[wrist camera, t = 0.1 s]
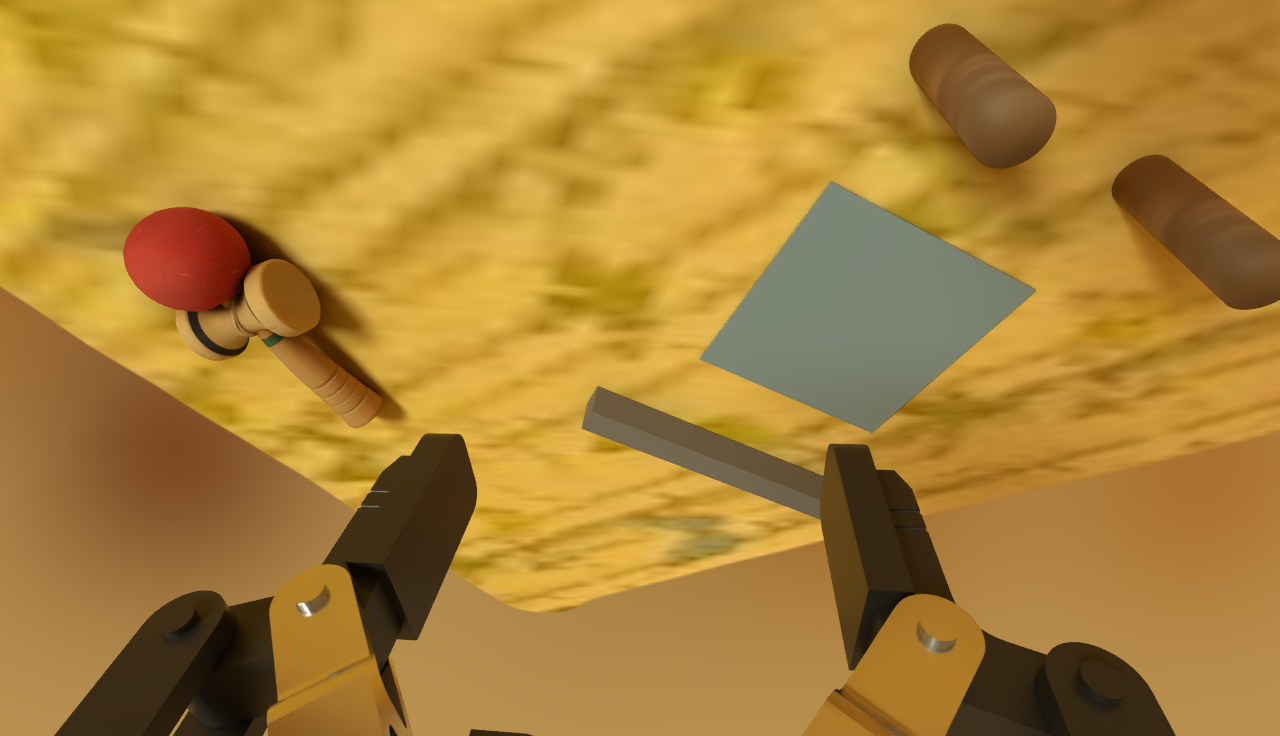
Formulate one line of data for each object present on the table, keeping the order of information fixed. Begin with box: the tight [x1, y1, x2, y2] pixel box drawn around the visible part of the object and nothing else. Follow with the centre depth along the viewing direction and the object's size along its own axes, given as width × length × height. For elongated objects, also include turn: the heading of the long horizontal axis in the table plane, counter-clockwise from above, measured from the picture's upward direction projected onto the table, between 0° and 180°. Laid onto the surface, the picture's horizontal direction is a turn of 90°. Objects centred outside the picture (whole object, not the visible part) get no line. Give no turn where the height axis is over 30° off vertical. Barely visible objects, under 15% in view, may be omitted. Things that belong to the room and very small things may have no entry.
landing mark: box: [700, 181, 1036, 433], centre depth 37 cm, size 14×14×1 cm
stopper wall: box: [582, 387, 823, 519], centre depth 45 cm, size 2×24×2 cm, turn 65°
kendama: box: [123, 207, 382, 428], centre depth 39 cm, size 8×6×18 cm
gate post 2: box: [1112, 155, 1280, 310], centre depth 27 cm, size 3×3×9 cm
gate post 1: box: [909, 24, 1056, 168], centre depth 24 cm, size 3×3×9 cm
